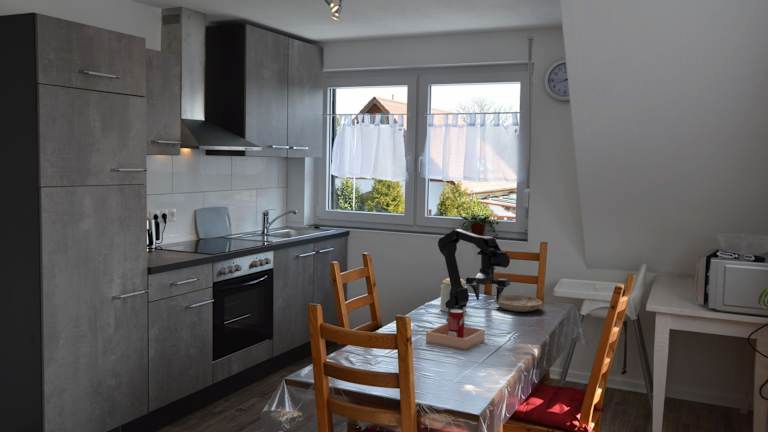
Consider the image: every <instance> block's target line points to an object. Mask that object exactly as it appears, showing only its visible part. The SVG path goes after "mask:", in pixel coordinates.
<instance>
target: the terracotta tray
mask: <svg viewBox="0 0 768 432" xmlns="http://www.w3.org/2000/svg"><path fill="white" fill-rule="evenodd" d="M447 328H448V322H445V323H443V324H441V325H438V326H437V327H434V328H433V329H430V330H428V331H426V332H425V343H426V344H429V345H434V346H440V347H445V348H450V349H455V350H461V351H465V352H466V351H469V350H470V349H472V348H473V347H476V346H477V345H478V344H481V343H482V342H484V341H485V338H486V337H485V336H486V335H485V334H486V333H485V332H486V329H482V328H478V327H477V328H476V327H471V326H466V325H464V338H459V337H454V336H448V335H447Z"/></svg>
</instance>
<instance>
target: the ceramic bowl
mask: <svg viewBox="0 0 768 432" xmlns="http://www.w3.org/2000/svg"><path fill="white" fill-rule="evenodd" d="M496 297H497V295H495V297H494V303H495V304H496V305H497V306H498V307H500V308H501V309H504V310H506V311H509V312H510V311H511V312H518V313H525V312H533V311H535V310H538V309H540V308H541V307H542V305H543V301H542V300H541V299H539V298H536V297H533V296H528V295H520V294H501V296H500V299H499V301H498V302H497V300H496Z"/></svg>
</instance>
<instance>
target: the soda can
mask: <svg viewBox="0 0 768 432" xmlns="http://www.w3.org/2000/svg"><path fill="white" fill-rule="evenodd" d="M447 319H448V321H447V323H448V328H447V335H448V336H454V337H459V338H464V326H465V320H464V319H465V312H464V313H463V310H460V309H451V310H450V312H449V314H448V313H447Z"/></svg>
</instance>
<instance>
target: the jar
mask: <svg viewBox="0 0 768 432" xmlns="http://www.w3.org/2000/svg"><path fill="white" fill-rule="evenodd" d="M460 279H461V284H462V286H463V287H464V288H467V289H468V286H467V284H466V280H464V279H463V278H460ZM440 288H441V291H440V304H439V307H440V311H442V312H444V313H448V308H446V305H445V303H446V302H447V301H448V300H449V299H450V295H449V293H450V290H451V284H450V279H449V277H448V278H445V279H443V280H442V284H440ZM463 311H464V313H465V312H466V311H467V305H466V307H463Z"/></svg>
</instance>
